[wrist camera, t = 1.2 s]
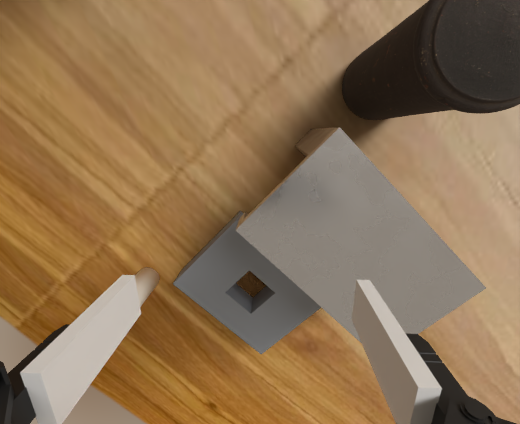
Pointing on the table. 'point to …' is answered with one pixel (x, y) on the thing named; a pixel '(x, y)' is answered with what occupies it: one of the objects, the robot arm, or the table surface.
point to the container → (440, 62)
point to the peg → (146, 283)
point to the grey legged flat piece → (355, 238)
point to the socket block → (235, 298)
